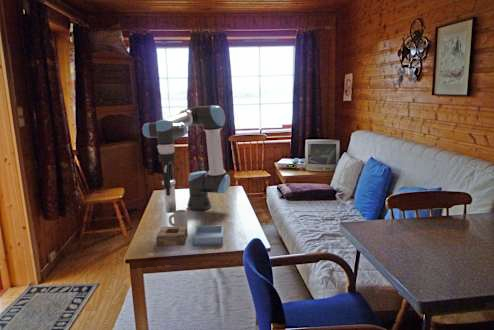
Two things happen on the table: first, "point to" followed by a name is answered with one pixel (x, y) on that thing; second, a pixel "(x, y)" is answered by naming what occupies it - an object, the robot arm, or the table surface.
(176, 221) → the cup
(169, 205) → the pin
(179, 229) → the socket block
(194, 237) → the tray
